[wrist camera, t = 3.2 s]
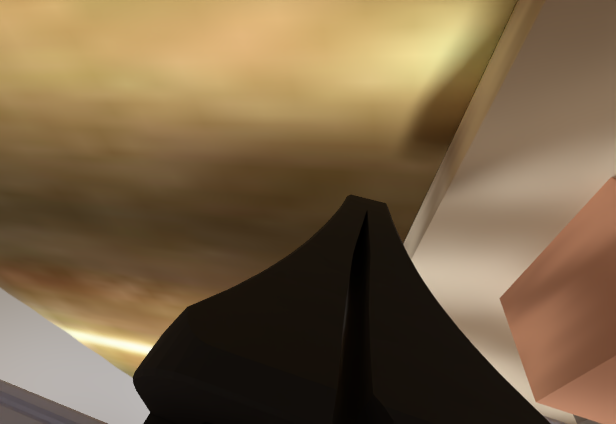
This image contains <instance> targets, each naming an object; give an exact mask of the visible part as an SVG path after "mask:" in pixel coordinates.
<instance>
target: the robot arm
mask: <svg viewBox="0 0 616 424" xmlns="http://www.w3.org/2000/svg"><path fill="white" fill-rule="evenodd" d="M133 383H134V386H135V389H136V391H137V392H138V394H139V395H140V397H141V399H142V400H143V402H144V403H145V405H146V406H147V408H148V409H149V411H150V414H149V416H148V417H147V419H146V420H145V422H144V424H568V423H565V422H562V421H559V420H556V419H552V418H549V417H546V416H543V415H542V414H541V413H540V412H539V411H538V410H536V409H535V408H534V407H533V406H532V405H531V404H530V403H529V402H528V401H527V400H526V399H525V398H524V397H523V396H522V395H521V394H520V393H519V392H518V391H517V390H516V389H515V388H514V387H513V386H512V385H511V384H510V383H509V382H508V381H507V380H506V379H505V378H504V377H503V376H502V375H501V374H500V373H499V372H498V371H497V370H496V369H495V368H494V367H493V366H492V365H491V364H490V362H489V361H488V360H487V359H486V358H485V357H484V356H483V355H482V354H481V353H480V352H479V351H478V349H477V348H476V347H475V346H474V345H473V344H472V343H471V342H470V340H469V339H468V338H467V337H466V336H465V335H464V334H463V332H462V331H461V330H460V329H459V328H458V326H457V325H456V324H455V323H454V321H453V320H452V319H451V318H450V316H449V315H448V314H447V313H446V311H445V310H444V309H443V308H442V306H441V305H440V304H439V302H438V301H437V300H436V298H435V297H434V296H433V294H432V293H431V291H430V290H429V288H428V287H427V285H426V284H425V282H424V281H423V279H422V278H421V276H420V274H419V273H418V271H417V269H416V268H415V266H414V264H413V262H412V261H411V259H410V257H409V255H408V253H407V251H406V249H405V247H404V245H403V243H402V241H401V239H400V237H399V235H398V232H397V230H396V228H395V225H394V223H393V220H392V218H391V215H390V212H389V209H388V207H387V205H386V203H382V202H378V201H374V200H370V199H366V198H362V197H358V196H354V195H349V196H347V197H346V199H345V201H344V203H343V204H342V206H341V207H340V208H339V209H338V211H337V212H336V213H335V214H334V215H333V217H332V218H331V219H330V220H329V221H328V222H327V223H326V224H325V225H324V226H323V227H322V228H321V229H320V230H319V231H318V232H317V233H315V234H314V235H313V236H312V237H311V238H310V239H309V240H308V241H306V242H305V243H304V244H303V245H301V246H300V247H299V248H298V249H296V250H295V251H294V252H292V253H291V254H289V255H288V256H286V257H285V258H283V259H282V260H280V261H279V262H277V263H276V264H274V265H273V266H271V267H269V268H268V269H266V270H264V271H263V272H261V273H259V274H257V275H255V276H253V277H251V278H249V279H248V280H246V281H244V282H242V283H240V284H238V285H236V286H234V287H232V288H230V289H228V290H226V291H223V292H221V293H219V294H216V295H214V296H212V297H209V298H207V299H205V300H203V301H200V302H198V303H196V304H193V305H191V306H188V307H187V308H186V309H185V310H184V311H183V312H182V313H181V314H180V315H179V317H178V318H177V319H176V320H175V321H174V322H173V323H172V324H171V325H170V326H169V327H168V329H167V330H166V331H165V332H164V333H163V334H162V336H161V337H160V338H159V340H158V341H157V342H156V344H155V345H154V346H153V348H152V349H151V351H150V352H149V353H148V355H147V356H146V357H145V359H144V360H143V361H142V363H141V364H140V366H139V367H138V368H137V370H136V371H135V373H134V376H133ZM0 424H107V423H105V422H103V421H100V420H98V419H95V418H92V417H90V416H88V415H85V414H83V413H80V412H78V411H76V410H73V409H71V408H68V407H66V406H64V405H61V404H58V403H56V402H54V401H51V400H49V399H46V398H44V397H42V396H39V395H37V394H34V393H32V392H29V391H27V390H25V389H22V388H20V387H17V386H15V385H12V384H10V383H7V382H5V381H2V380H0Z"/></svg>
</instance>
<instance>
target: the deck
mask: <svg viewBox="0 0 616 424" xmlns="http://www.w3.org/2000/svg"><path fill="white" fill-rule="evenodd" d="M611 177H613V178H616V0H518V1H517V3H516V6H515V8H514V10H513V12H512V14H511V16H510V18H509V21H508V23H507V25H506V27H505V29H504V31H503V33H502V35H501V38H500V40H499V42H498V44H497V46H496V48H495V50H494V52H493V55H492V57H491V59H490V61H489V63H488V65H487V67H486V69H485V72H484V74H483V76H482V78H481V80H480V82H479V84H478V87H477V89H476V91H475V93H474V95H473V97H472V99H471V101H470V104H469V106H468V108H467V110H466V112H465V114H464V116H463V118H462V121H461V123H460V125H459V127H458V129H457V131H456V133H455V136H454V138H453V140H452V142H451V144H450V146H449V148H448V150H447V153H446V155H445V157H444V159H443V161H442V163H441V165H440V167H439V170H438V172H437V174H436V176H435V178H434V180H433V182H432V185H431V187H430V189H429V191H428V193H427V195H426V197H425V199H424V202H423V204H422V206H421V208H420V210H419V212H418V214H417V216H416V219H415V221H414V223H413V225H412V227H411V229H410V231H409V234H408V236H407V238H406V240H405V242H404V244H403V245H404V247H405V249H406V251H407V253H408V255H409V257H410V259H411V261H412V262H413V264H414V266H415V268H416V269H417V271H418V273H419V274H420V276H421V278H422V279H423V281H424V282H425V284H426V285H427V287H428V288H429V290H430V291H431V293H432V294H433V296H434V297H435V298H436V300H437V301H438V302H439V304H440V305H441V306H442V308H443V309H444V310H445V311H446V313H447V314H448V315H449V316H450V318H451V319H452V320H453V321H454V323H455V324H456V325H457V326H458V328H459V329H460V330H461V331H462V332H463V334H464V335H465V336H466V337H467V338H468V339H469V340H470V342H471V343H472V344H473V345H474V346H475V347H476V348H477V349H478V351H479V352H480V353H481V354H482V355H483V356H484V357H485V358H486V359H487V360H488V361H489V362H490V364H491V365H492V366H493V367H494V368H495V369H496V370H497V371H498V372H499V373H500V374H501V375H502V376H503V377H504V378H505V379H506V380H507V381H508V382H509V383H510V384H511V385H512V386H513V387H514V388H515V389H516V390H517V391H518V392H519V393H520V394H521V395H522V396H523V397H524V398H525V399H526V400H527V401H528V402H529V403H530V404H531V405H532V406H533V407H534V408H535V409H536V410H538V411H539V412H540V413H541V414H542V415H543V416H546V417H549V418H552V419H556V420H559V421H562V422H565V423H568V424H601V423H598V422H595V421H592V420H589V419H586V418H583V417H580V416H577V415H574V414H570V413H567V412H564V411H561V410H558V409H555V408H552V407H549V406H546V405H543V404H539V403H536V402H535V399H534V396H533V393H532V390H531V387H530V385H529V382H528V379H527V376H526V373H525V370H524V367H523V365H522V362H521V359H520V356H519V353H518V350H517V347H516V344H515V342H514V339H513V336H512V333H511V330H510V327H509V324H508V322H507V319H506V316H505V313H504V310H503V307H502V304H501V302H500V299H499V298H500V297H501V296H502V295H503V294H504V293H505V292H506V291H507V290H508V289H509V287H510V286H511V285H512V284H513V283H514V282H515V281H516V280H517V279H518V278H519V277H520V275H521V274H522V273H523V272H524V271H525V270H526V269H527V268H528V267H529V266H530V265H531V263H532V262H533V261H534V260H535V259H536V258H537V257H538V256H539V255H540V254H541V253H542V252H543V250H544V249H545V248H546V247H547V246H548V245H549V244H550V243H551V242H552V241H553V240H554V238H555V237H556V236H557V235H558V234H559V233H560V232H561V231H562V230H563V229H564V228H565V226H566V225H567V224H568V223H569V222H570V221H571V220H572V219H573V218H574V217H575V216H576V215H577V213H578V212H579V211H580V210H581V209H582V208H583V207H584V206H585V205H586V204H587V203H588V201H589V200H590V199H591V198H592V197H593V196H594V195H595V194H596V193H597V192H598V191H599V189H600V188H601V187H602V186H603V185H604V184H605V183H606V182H607V181H608V180H609V179H610V178H611Z"/></svg>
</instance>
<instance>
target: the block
mask: <svg viewBox="0 0 616 424" xmlns="http://www.w3.org/2000/svg"><path fill="white" fill-rule="evenodd" d="M499 299H500V302H501V304H502V307H503V310H504V313H505V316H506V319H507V322H508V324H509V327H510V330H511V333H512V336H513V339H514V342H515V344H516V347H517V350H518V353H519V356H520V359H521V362H522V365H523V367H524V370H525V373H526V376H527V379H528V382H529V385H530V387H531V390H532V393H533V396H534V399H535V402H536V403H539V404H543V405H546V406H549V407H552V408H555V409H558V410H561V411H564V412H567V413H570V414H574V415H577V416H580V417H583V418H586V419H589V420H592V421H595V422H598V423H601V424H616V178H613V177H611V178H610V179H609V180H608V181H607V182H606V183H605V184H604V185H603V186H602V187H601V188H600V189H599V191H598V192H597V193H596V194H595V195H594V196H593V197H592V198H591V199H590V200H589V201H588V203H587V204H586V205H585V206H584V207H583V208H582V209H581V210H580V211H579V212H578V213H577V215H576V216H575V217H574V218H573V219H572V220H571V221H570V222H569V223H568V224H567V225H566V226H565V228H564V229H563V230H562V231H561V232H560V233H559V234H558V235H557V236H556V237H555V238H554V240H553V241H552V242H551V243H550V244H549V245H548V246H547V247H546V248H545V249H544V250H543V252H542V253H541V254H540V255H539V256H538V257H537V258H536V259H535V260H534V261H533V262H532V263H531V265H530V266H529V267H528V268H527V269H526V270H525V271H524V272H523V273H522V274H521V275H520V277H519V278H518V279H517V280H516V281H515V282H514V283H513V284H512V285H511V286H510V287H509V289H508V290H507V291H506V292H505V293H504V294H503V295H502V296H501V297H500V298H499Z"/></svg>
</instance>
